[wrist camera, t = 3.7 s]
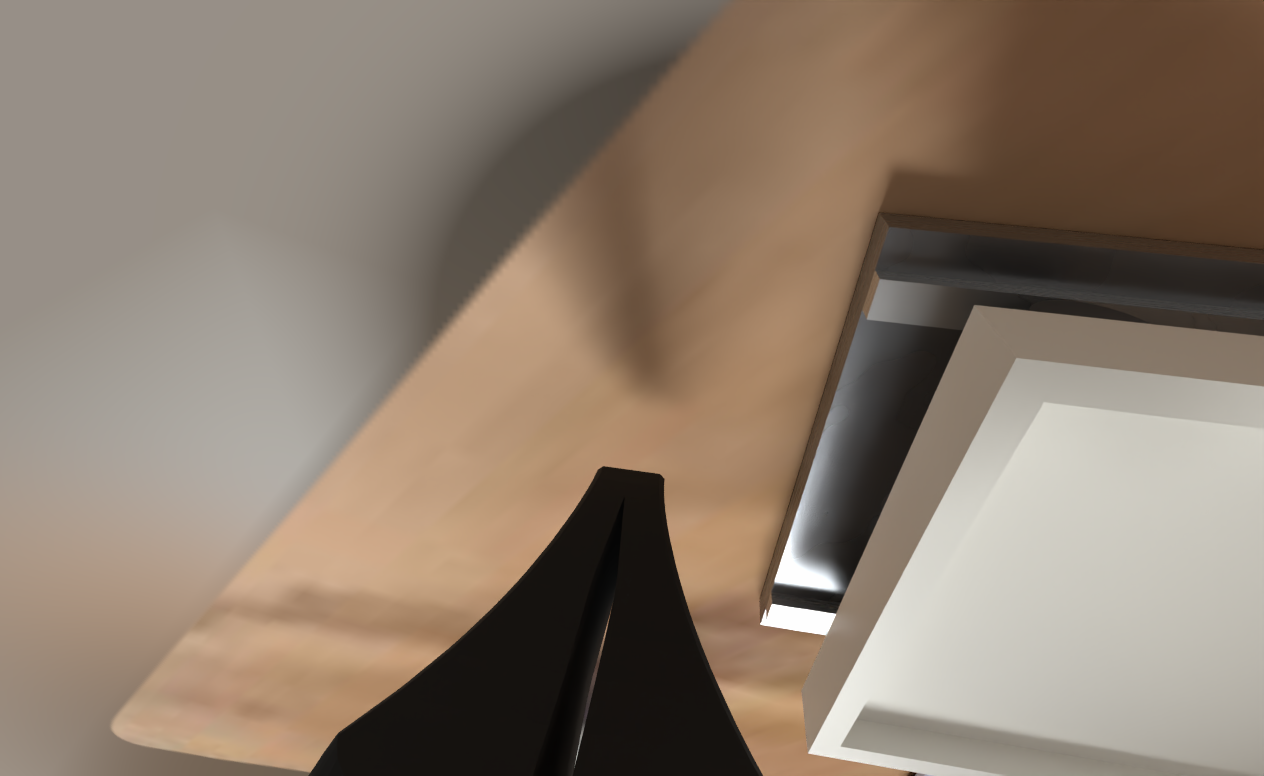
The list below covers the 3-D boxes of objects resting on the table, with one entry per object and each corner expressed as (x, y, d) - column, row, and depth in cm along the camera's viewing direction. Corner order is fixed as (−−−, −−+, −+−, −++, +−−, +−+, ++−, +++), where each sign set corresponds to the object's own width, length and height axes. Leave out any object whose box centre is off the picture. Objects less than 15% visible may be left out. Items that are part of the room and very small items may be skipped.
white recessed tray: (1227, 714, 15) (1317, 843, 13) (796, 644, 16) (808, 753, 14) (1723, 351, 8) (2092, 481, 6) (946, 269, 9) (1016, 357, 7)
